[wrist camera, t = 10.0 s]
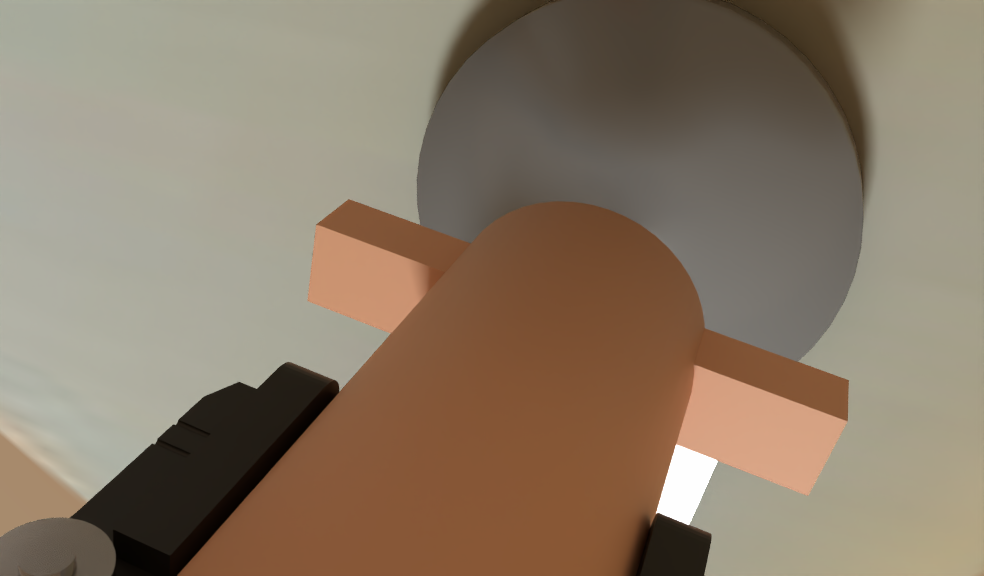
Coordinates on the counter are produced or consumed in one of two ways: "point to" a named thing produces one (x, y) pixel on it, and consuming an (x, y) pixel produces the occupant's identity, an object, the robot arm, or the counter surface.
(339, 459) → the knob
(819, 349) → the counter surface
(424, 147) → the coaster
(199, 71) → the counter surface
